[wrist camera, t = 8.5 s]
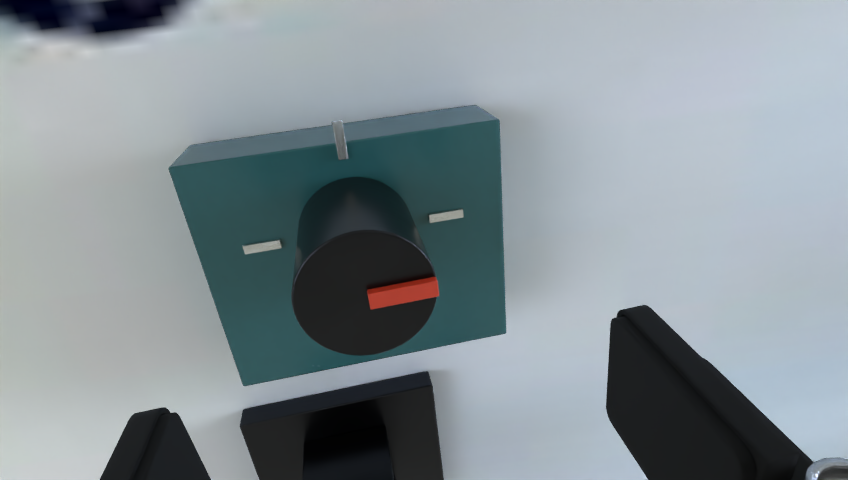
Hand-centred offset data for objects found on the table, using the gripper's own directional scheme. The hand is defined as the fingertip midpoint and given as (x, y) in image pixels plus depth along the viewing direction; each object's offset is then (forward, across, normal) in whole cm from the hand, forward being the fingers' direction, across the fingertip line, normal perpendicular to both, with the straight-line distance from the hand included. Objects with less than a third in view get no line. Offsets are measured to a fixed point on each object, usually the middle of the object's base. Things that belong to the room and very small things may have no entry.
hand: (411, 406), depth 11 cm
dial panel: (+13, +1, +2) cm, 13 cm away
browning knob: (+10, +1, 0) cm, 10 cm away
